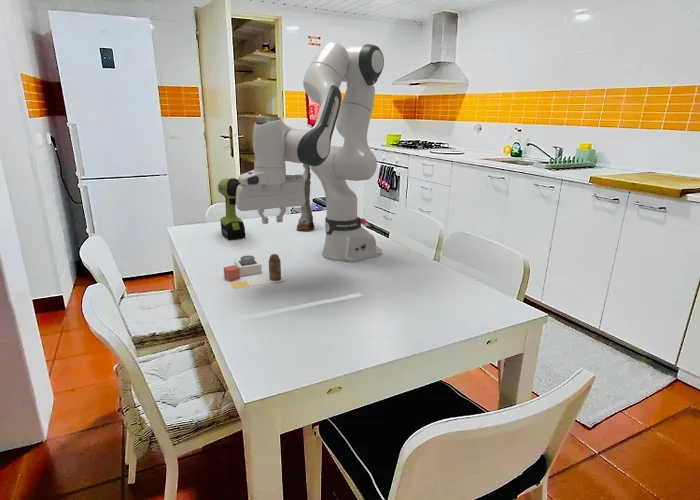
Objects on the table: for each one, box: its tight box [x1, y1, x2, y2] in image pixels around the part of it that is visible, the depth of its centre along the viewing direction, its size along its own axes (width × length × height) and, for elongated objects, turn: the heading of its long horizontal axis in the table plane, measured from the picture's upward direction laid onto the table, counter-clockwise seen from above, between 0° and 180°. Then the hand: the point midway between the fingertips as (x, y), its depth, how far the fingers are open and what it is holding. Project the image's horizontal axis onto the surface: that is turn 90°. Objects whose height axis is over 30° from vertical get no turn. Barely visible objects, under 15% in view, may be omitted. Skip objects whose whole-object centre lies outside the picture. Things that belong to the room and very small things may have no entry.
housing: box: [233, 257, 263, 277], centre depth 137 cm, size 7×7×3 cm
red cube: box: [223, 264, 241, 282], centre depth 131 cm, size 4×4×4 cm
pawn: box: [268, 253, 282, 281], centre depth 131 cm, size 4×4×8 cm
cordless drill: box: [217, 177, 247, 241], centre depth 170 cm, size 23×7×25 cm, turn 32°
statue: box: [296, 163, 315, 232], centre depth 184 cm, size 8×7×30 cm
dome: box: [239, 254, 255, 266], centre depth 137 cm, size 4×4×4 cm
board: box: [229, 275, 286, 290], centre depth 134 cm, size 17×20×1 cm
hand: (272, 222), depth 126 cm, fingers open, 3 cm apart
